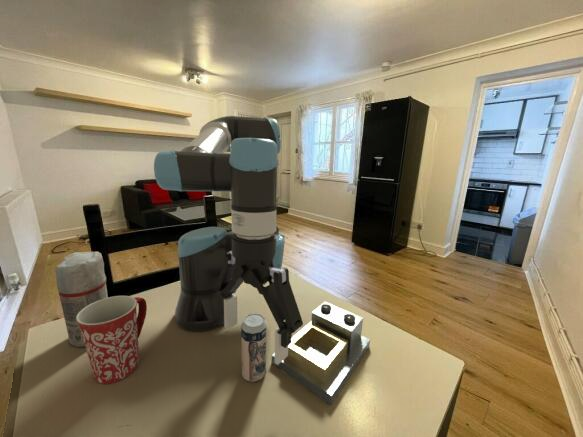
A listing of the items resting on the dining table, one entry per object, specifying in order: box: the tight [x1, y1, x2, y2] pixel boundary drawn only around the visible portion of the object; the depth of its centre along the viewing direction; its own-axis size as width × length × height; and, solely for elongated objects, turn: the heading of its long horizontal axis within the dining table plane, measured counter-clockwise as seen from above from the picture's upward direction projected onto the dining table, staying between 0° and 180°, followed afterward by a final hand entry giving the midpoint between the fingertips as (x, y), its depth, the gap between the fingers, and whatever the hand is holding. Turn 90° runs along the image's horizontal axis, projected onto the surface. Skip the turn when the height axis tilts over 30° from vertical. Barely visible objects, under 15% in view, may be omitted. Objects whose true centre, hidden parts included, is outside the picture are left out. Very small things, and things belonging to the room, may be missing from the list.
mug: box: [76, 295, 148, 385], centre depth 49 cm, size 13×9×14 cm
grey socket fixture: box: [271, 301, 371, 406], centre depth 53 cm, size 14×18×8 cm
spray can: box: [54, 251, 109, 348], centre depth 55 cm, size 8×8×20 cm
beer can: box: [240, 313, 268, 383], centre depth 47 cm, size 5×5×12 cm
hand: (254, 341), depth 46 cm, fingers open, 13 cm apart
